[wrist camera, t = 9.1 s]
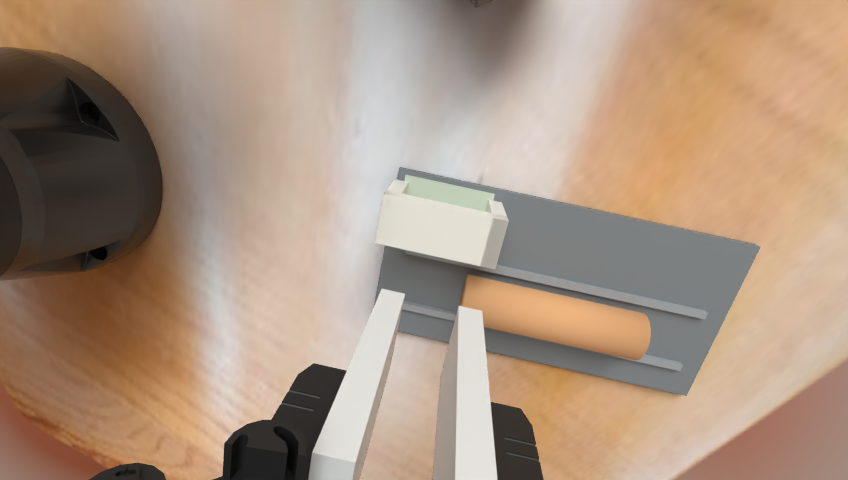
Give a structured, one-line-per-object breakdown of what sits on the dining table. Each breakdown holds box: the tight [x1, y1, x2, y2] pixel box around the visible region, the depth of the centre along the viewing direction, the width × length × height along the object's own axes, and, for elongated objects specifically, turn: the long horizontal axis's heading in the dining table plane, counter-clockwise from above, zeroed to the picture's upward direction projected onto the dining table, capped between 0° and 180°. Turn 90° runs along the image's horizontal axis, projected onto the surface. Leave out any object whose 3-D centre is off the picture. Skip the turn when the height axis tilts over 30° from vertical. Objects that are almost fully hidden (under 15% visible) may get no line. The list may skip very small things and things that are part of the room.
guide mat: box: [374, 167, 760, 396], centre depth 30 cm, size 24×12×1 cm, turn 79°
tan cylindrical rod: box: [459, 274, 651, 360], centre depth 29 cm, size 12×3×3 cm, turn 79°
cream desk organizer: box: [375, 179, 509, 269], centre depth 26 cm, size 3×7×4 cm, turn 79°
